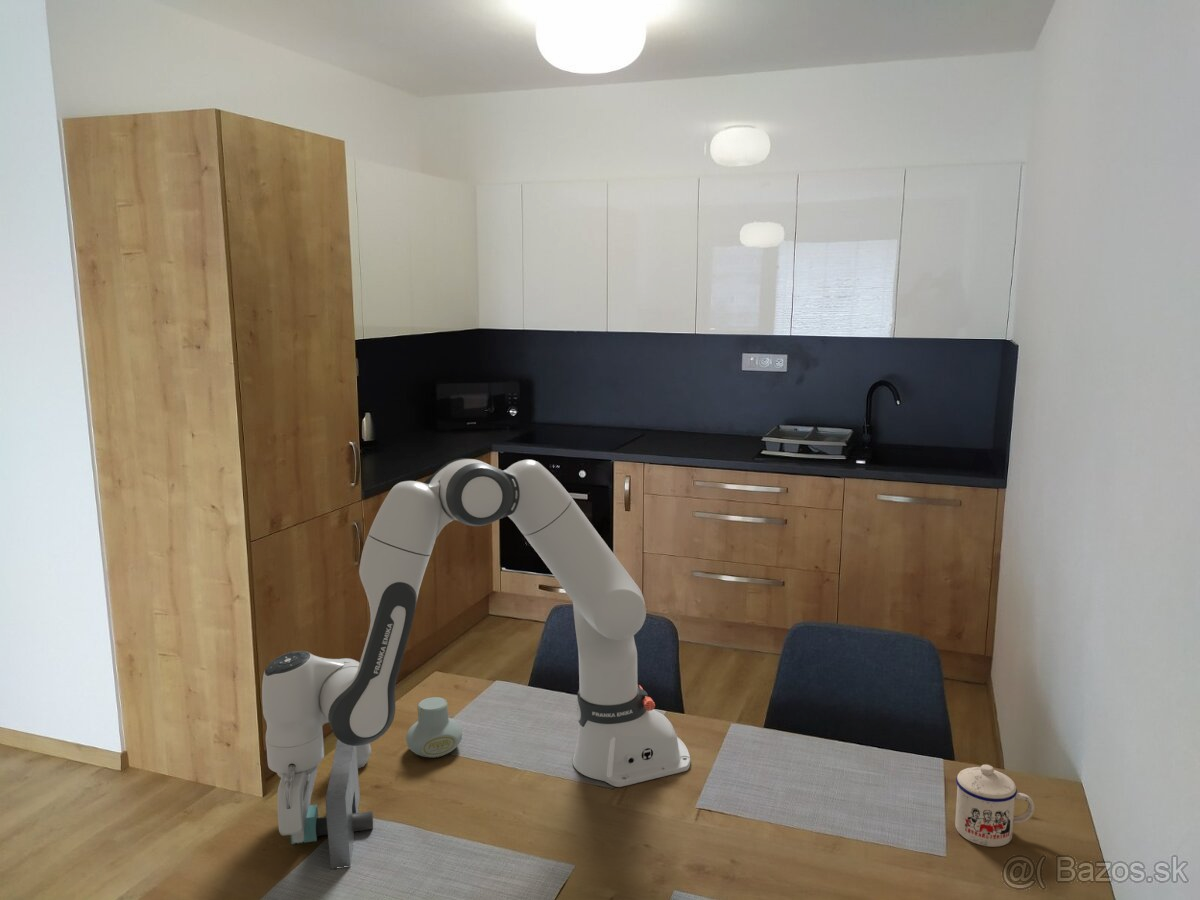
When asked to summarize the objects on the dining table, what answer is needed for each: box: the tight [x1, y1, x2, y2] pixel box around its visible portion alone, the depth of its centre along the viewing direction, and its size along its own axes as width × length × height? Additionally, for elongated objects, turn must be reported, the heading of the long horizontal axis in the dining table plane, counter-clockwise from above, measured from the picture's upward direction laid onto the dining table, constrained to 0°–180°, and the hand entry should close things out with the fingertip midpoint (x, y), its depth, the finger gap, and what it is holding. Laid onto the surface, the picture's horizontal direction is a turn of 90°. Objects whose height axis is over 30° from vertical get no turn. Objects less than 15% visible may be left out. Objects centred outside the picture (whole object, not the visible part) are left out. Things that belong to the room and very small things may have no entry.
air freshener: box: [405, 696, 463, 759], centre depth 173 cm, size 11×8×10 cm
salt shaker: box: [356, 743, 372, 769], centre depth 168 cm, size 6×6×13 cm
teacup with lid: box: [954, 764, 1035, 848], centre depth 143 cm, size 12×9×12 cm
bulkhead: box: [324, 738, 361, 869], centre depth 147 cm, size 3×20×12 cm, turn 11°
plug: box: [290, 804, 374, 845], centre depth 147 cm, size 13×4×4 cm, turn 101°
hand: (302, 826), depth 147 cm, fingers open, 6 cm apart
